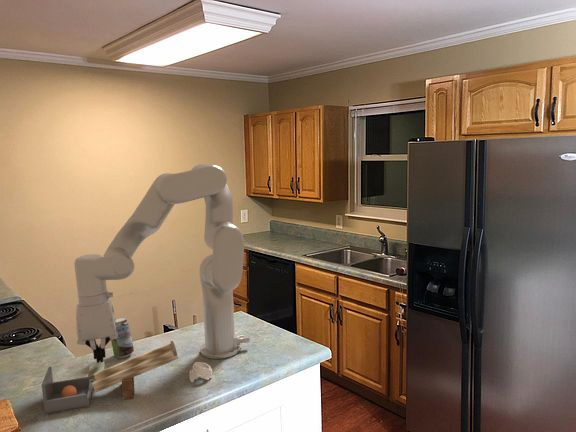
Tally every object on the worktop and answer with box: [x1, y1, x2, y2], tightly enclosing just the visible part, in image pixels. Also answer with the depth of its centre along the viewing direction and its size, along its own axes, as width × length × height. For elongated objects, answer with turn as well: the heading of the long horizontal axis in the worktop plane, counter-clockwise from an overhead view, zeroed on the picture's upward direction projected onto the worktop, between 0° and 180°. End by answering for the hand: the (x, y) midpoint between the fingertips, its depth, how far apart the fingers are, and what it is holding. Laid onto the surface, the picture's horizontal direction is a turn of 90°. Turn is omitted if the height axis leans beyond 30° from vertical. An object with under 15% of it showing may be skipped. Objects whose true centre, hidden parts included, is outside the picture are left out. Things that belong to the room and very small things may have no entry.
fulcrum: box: [121, 377, 135, 401], centre depth 125 cm, size 3×10×5 cm, turn 18°
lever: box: [87, 340, 179, 393], centre depth 129 cm, size 24×17×4 cm
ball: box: [61, 385, 77, 397], centre depth 120 cm, size 4×4×4 cm
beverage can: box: [110, 317, 135, 359], centre depth 146 cm, size 6×7×12 cm
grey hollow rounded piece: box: [188, 361, 213, 383], centre depth 131 cm, size 8×7×5 cm
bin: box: [41, 366, 94, 416], centre depth 120 cm, size 10×10×8 cm
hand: (100, 360), depth 132 cm, fingers closed
